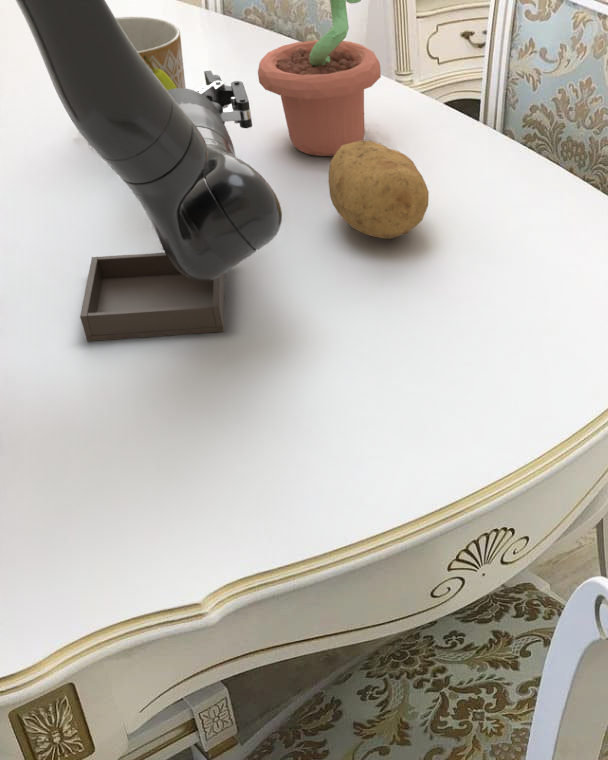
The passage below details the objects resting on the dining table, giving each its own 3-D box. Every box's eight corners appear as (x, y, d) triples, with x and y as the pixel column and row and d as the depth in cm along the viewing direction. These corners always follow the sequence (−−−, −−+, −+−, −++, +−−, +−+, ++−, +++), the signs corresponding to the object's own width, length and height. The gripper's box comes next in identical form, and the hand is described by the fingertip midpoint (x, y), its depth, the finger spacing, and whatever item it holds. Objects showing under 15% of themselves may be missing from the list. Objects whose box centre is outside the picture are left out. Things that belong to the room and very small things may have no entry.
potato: (391, 193, 123) (386, 119, 117) (451, 246, 114) (449, 168, 109) (309, 212, 119) (301, 136, 113) (365, 268, 111) (359, 189, 105)
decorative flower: (308, 111, 138) (274, -183, 117) (408, 128, 135) (393, -171, 114) (246, 157, 129) (197, -155, 107) (353, 177, 125) (324, -141, 104)
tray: (87, 341, 101) (79, 316, 99) (98, 281, 108) (91, 256, 106) (223, 331, 102) (219, 307, 100) (225, 272, 110) (220, 248, 108)
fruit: (215, 156, 127) (195, 42, 118) (198, 177, 123) (177, 62, 114) (166, 152, 127) (143, 39, 119) (148, 174, 123) (123, 58, 115)
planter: (71, 125, 134) (46, 31, 127) (164, 100, 140) (146, 9, 133) (120, 159, 128) (97, 62, 120) (216, 131, 134) (200, 37, 126)
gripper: (259, 96, 103) (230, 38, 114) (102, 113, 100) (86, 52, 110) (271, 176, 109) (241, 114, 119) (122, 195, 105) (105, 130, 116)
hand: (167, 85), depth 115 cm, fingers open, 8 cm apart
